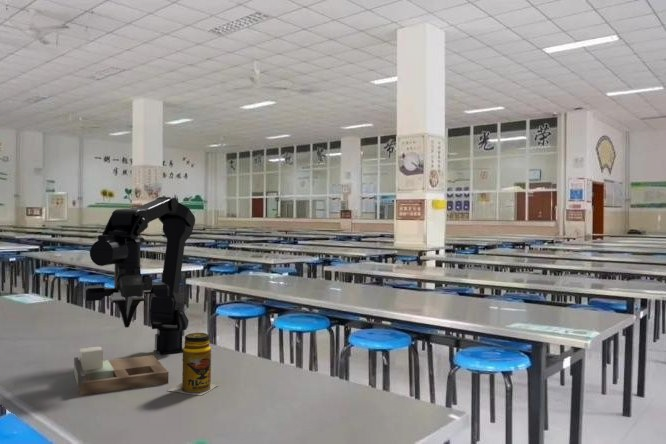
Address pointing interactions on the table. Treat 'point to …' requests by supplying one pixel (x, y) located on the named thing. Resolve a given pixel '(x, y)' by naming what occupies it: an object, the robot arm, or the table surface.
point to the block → (91, 358)
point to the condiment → (196, 365)
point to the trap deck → (120, 374)
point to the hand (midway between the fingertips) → (126, 327)
